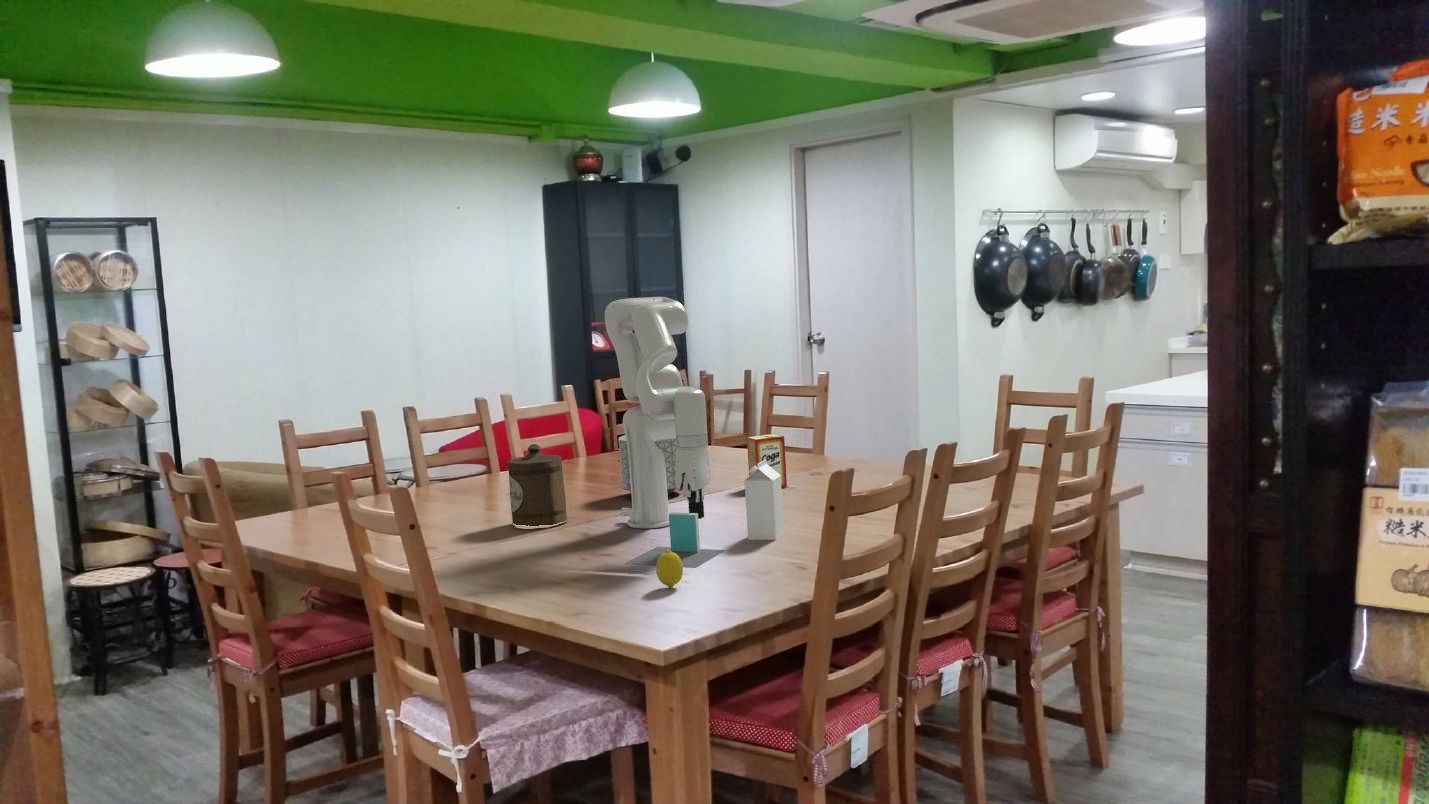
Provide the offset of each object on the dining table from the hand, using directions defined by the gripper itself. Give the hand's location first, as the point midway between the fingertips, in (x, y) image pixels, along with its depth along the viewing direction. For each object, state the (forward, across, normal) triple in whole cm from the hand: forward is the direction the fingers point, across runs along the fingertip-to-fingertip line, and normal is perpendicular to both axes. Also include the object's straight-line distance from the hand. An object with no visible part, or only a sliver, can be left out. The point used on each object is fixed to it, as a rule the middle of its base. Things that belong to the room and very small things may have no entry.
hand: (696, 517), depth 261 cm
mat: (+7, +12, 0) cm, 14 cm away
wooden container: (+7, -16, -56) cm, 59 cm away
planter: (+7, -58, -43) cm, 73 cm away
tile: (+6, +7, 0) cm, 9 cm away
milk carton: (+7, -11, +13) cm, 19 cm away
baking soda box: (+7, -74, -12) cm, 75 cm away
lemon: (+8, +34, +10) cm, 36 cm away
